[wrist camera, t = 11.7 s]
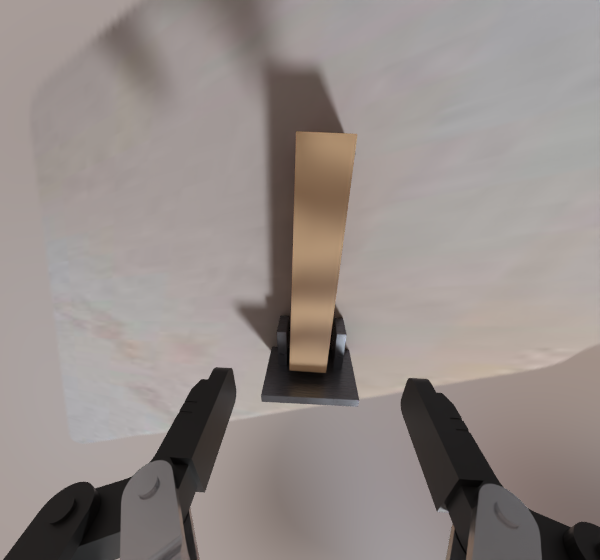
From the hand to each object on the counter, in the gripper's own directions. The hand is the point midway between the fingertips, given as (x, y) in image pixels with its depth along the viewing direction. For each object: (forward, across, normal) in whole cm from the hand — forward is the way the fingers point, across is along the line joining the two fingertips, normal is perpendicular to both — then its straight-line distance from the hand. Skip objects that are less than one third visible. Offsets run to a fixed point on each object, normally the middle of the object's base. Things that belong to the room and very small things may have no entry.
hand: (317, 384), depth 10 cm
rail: (+15, 0, 0) cm, 15 cm away
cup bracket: (+15, 0, +10) cm, 18 cm away
